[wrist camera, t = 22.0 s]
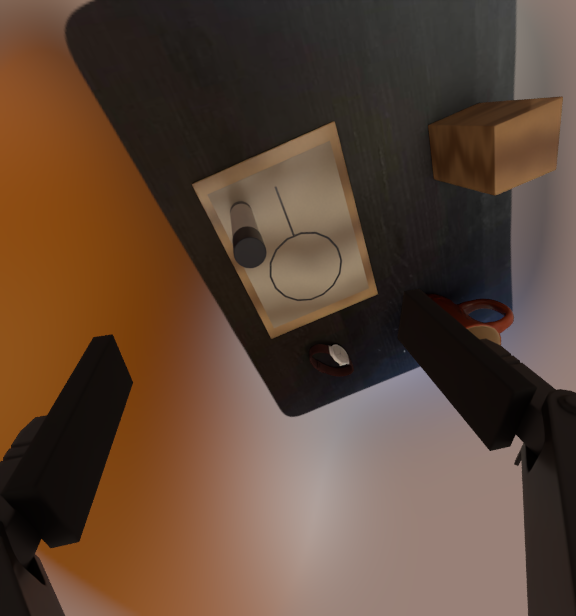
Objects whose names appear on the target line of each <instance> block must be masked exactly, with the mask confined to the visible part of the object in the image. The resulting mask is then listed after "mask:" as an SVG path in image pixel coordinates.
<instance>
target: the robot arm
mask: <svg viewBox="0 0 576 616" xmlns="http://www.w3.org/2000/svg"><path fill="white" fill-rule="evenodd" d="M398 339H399V341H400V342H401V343H402V344H403V345H404V347H405V348H406V349H407V350H408V352H409V353H410V354H411V355H412V356H413V358H414V359H415V360H416V361H417V363H418V364H419V365H420V366H421V367H422V368H423V370H424V371H425V372H426V373H427V375H428V376H429V377H430V378H431V380H432V381H433V382H434V383H435V384H436V386H437V387H438V388H439V389H440V391H442V393H443V394H444V395H445V396H446V398H447V399H448V400H449V402H450V403H451V404H452V405H453V406H454V408H455V409H456V410H457V411H458V412H459V414H460V415H461V416H462V417H463V419H464V420H465V421H466V422H467V424H468V425H469V426H470V427H471V428H472V429H473V431H474V432H475V433H476V434H477V436H478V437H479V438H480V439H481V441H483V443H484V444H485V445H486V447H487V448H488V449H489V450H490V451H491V450H496V449H501V448H505V447H510V446H511V444H512V441H513V439H514V437H515V435H517V436H518V437H519V438H520V439H521V440H522V441H523V442H524V443H523V445H522V448H521V450H520V452H519V454H518V456H517V458H516V460H515V463H514V464H515V465H517V466H518V465H519V463H520V461H521V460H522V481H523V505H524V528H525V548H526V549H525V551H526V572H527V597H528V616H576V393H575V392H572V391H567V390H561V389H560V390H556V389H554V388H553V387H552V386H551V385H549V384H548V383H547V382H546V381H544V380H543V379H542V378H541V377H539V376H538V375H537V374H536V373H534V372H533V371H532V370H531V369H529V368H528V367H527V366H525V365H524V364H523V363H520V361H519V360H518V359H517V358H515V357H514V356H511V354H510V353H509V352H508V351H507V350H505V349H504V348H503V347H502V346H500V345H499V344H497V343H495V342H492V341H490V340H488V339H486V338H485V339H479V338H477V337H476V336H475V335H474V334H473V333H471V332H470V331H469V330H468V329H467V328H465V327H464V326H463V325H462V324H461V323H459V322H458V321H457V320H456V319H455V318H454V317H452V316H451V315H450V314H449V313H448V312H446V311H445V310H444V309H443V308H442V307H440V306H439V305H438V304H437V303H436V302H434V301H433V300H432V299H431V298H430V297H428V296H427V295H426V294H425V293H424V292H422V291H421V290H420V289H415V290H408V291H404V296H403V303H402V311H401V318H400V325H399V332H398ZM132 384H133V381H132V379H131V376H130V374H129V372H128V369H127V367H126V365H125V362H124V360H123V358H122V355H121V353H120V351H119V348H118V346H117V343H116V341H115V339H114V336H113V335H105V336H99V337H93V339H92V341H91V342H90V344H89V346H88V348H87V349H86V351H85V352H84V354H83V356H82V358H81V359H80V361H79V363H78V364H77V366H76V368H75V369H74V371H73V373H72V374H71V376H70V378H69V379H68V381H67V383H66V385H65V386H64V388H63V389H62V391H61V393H60V394H59V396H58V398H57V400H56V401H55V403H54V405H53V406H52V408H51V410H50V412H49V413H48V415H47V416H41V417H35V418H34V419H33V420H32V421H31V422H30V423H29V424H28V425H27V426H26V427H25V428H23V429H22V430H21V431H20V433H19V434H18V436H17V437H16V439H15V440H14V442H13V444H12V445H11V449H9V450H8V451H7V453H6V454H5V456H4V457H3V461H1V462H0V616H65V614H64V612H63V610H62V608H61V605H60V603H59V601H58V599H57V596H56V594H55V592H54V590H53V588H52V586H51V583H50V582H49V579H48V576H47V574H46V572H45V570H44V568H43V565H42V563H41V561H40V559H39V558H38V557H37V556H36V555H35V552H36V550H37V547H38V545H39V543H40V540H41V538H42V539H43V541H44V542H46V544H47V545H48V546H49V547H50V548H54V547H58V546H62V545H68V544H72V543H76V542H79V541H80V538H81V535H82V532H83V529H84V526H85V523H86V520H87V517H88V514H89V511H90V508H91V506H92V503H93V500H94V497H95V494H96V491H97V488H98V485H99V482H100V479H101V476H102V473H103V470H104V467H105V464H106V461H107V458H108V455H109V452H110V449H111V446H112V443H113V440H114V437H115V435H116V431H117V429H118V426H119V422H120V420H121V417H122V414H123V411H124V408H125V405H126V402H127V399H128V396H129V393H130V390H131V387H132Z"/></svg>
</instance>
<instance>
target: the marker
mask: <svg viewBox="0 0 576 616" xmlns="http://www.w3.org/2000/svg"><path fill="white" fill-rule="evenodd" d="M230 217H231V227H232V237H233V239H232V243H233V254H234V258H235V260H236V262H237V263H238V264H239V265H240V266H242V267H245V268H255V267H258V266H259V265H261V264H262V263H263V262H264V260H265V258H266V253H267V252H266V247H265V244H264V241H263V239H262V236H261V234H260V232H259V229H258V226H257V223H256V221H255V218H254V215H253V212H252V209H251V207H250V206H249V204H247V203H246V202H243V201H238V202H236V203H234V204H233V205H232V206H231V209H230Z"/></svg>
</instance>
